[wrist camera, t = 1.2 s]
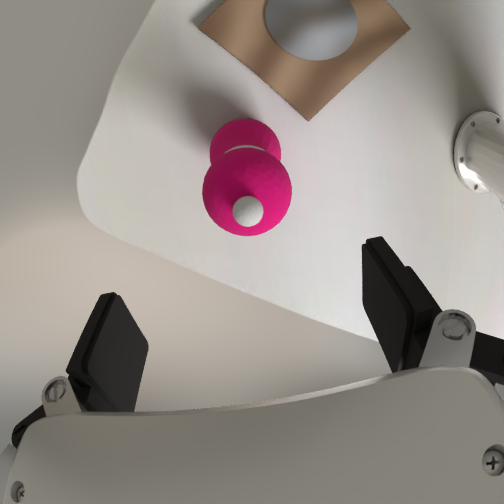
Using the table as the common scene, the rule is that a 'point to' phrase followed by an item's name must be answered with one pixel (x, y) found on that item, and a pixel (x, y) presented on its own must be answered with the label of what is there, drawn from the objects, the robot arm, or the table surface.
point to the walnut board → (305, 43)
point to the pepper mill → (246, 179)
